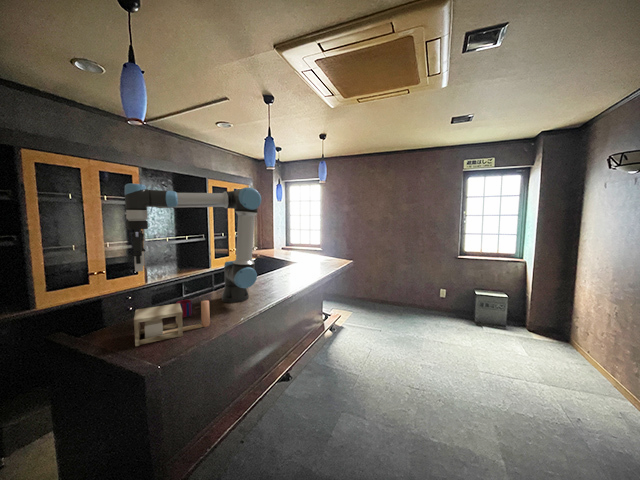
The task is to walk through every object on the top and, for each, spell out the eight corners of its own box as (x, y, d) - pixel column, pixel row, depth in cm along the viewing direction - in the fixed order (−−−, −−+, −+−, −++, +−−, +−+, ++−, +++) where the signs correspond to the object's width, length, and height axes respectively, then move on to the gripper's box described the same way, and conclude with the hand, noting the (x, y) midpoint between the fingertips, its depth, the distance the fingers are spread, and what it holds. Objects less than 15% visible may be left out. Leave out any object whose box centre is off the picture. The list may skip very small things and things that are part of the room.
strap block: (208, 322, 118) (207, 299, 117) (211, 326, 113) (210, 302, 112) (145, 334, 105) (144, 309, 104) (145, 340, 100) (143, 313, 99)
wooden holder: (180, 325, 115) (179, 303, 114) (183, 335, 104) (182, 311, 103) (137, 333, 106) (135, 309, 105) (135, 346, 95) (133, 320, 95)
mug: (194, 313, 128) (194, 300, 128) (177, 321, 119) (176, 307, 118) (185, 311, 131) (184, 298, 130) (167, 318, 122) (166, 305, 121)
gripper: (129, 219, 119) (131, 264, 121) (123, 220, 98) (126, 274, 100) (148, 219, 123) (150, 263, 125) (146, 220, 102) (149, 272, 104)
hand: (140, 268), depth 112 cm, fingers open, 13 cm apart
